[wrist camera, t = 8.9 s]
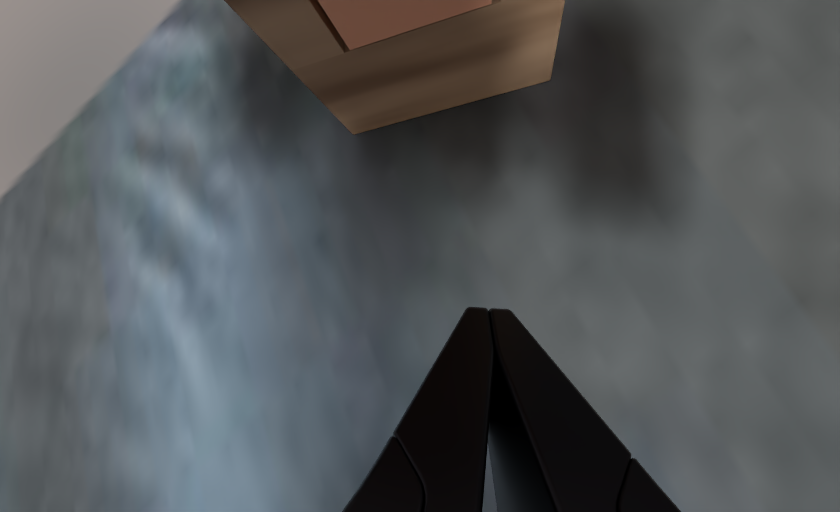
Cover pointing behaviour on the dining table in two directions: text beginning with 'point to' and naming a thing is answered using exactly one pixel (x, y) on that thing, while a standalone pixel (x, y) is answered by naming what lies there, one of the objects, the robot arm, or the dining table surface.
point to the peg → (389, 16)
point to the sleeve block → (410, 57)
